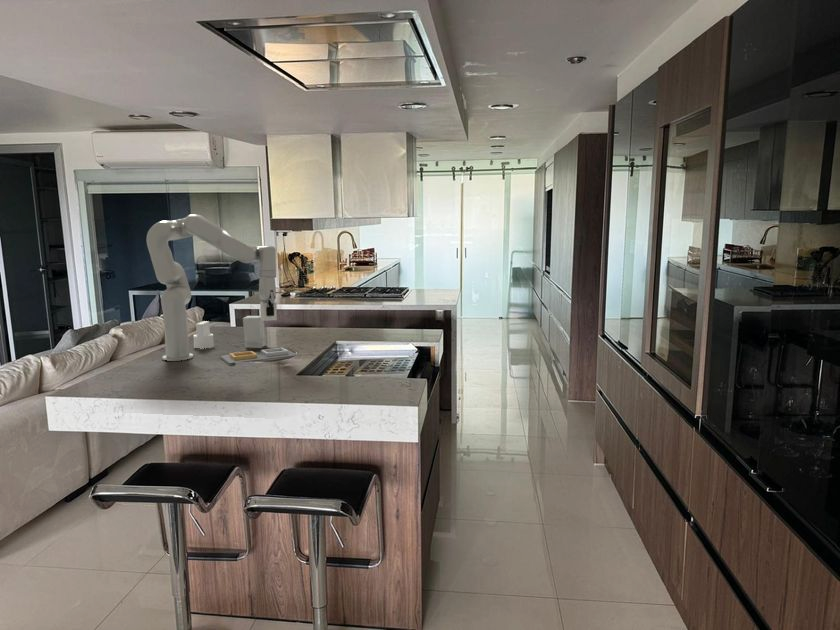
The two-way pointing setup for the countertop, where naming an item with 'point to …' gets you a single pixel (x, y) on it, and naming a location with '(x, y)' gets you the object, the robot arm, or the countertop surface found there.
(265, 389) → the countertop surface
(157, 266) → the robot arm
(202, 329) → the base with upright slab
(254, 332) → the skincare box
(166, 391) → the countertop surface
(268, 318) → the plug
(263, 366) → the countertop surface
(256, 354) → the socket panel
